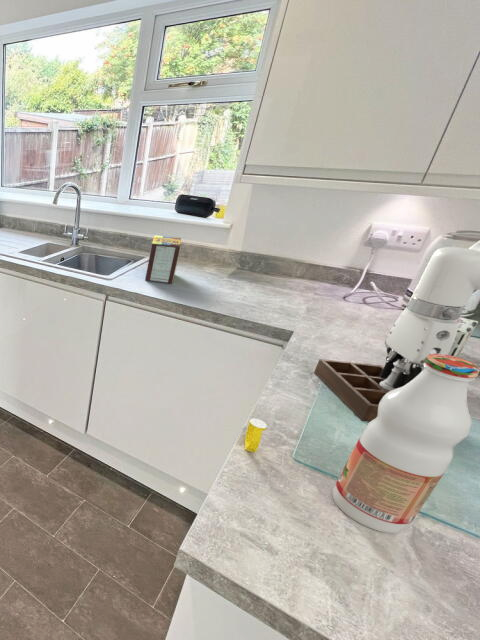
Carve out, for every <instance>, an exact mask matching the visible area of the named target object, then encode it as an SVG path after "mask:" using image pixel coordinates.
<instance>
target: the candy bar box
mask: <svg viewBox="0 0 480 640" xmlns="http://www.w3.org/2000/svg"><path fill="white" fill-rule="evenodd" d="M456 322H458V323H459V325H458V330H457V334H456V337H455V340H454V342H453V345H452V347H451V349H450V351H449V353H448V355H450V356H454V357H458V358H460V356H461V354H462V352H463V350H464V349H465V346H466V345H467V343H468V342H469V339H470V337H471V336H472V334H473V332H474V331H475V329H476V327H477V325H478V324H479V321H478V320H475V319H470V318H467V317H463V316H460V317H459V318H458V320H457V321H456ZM417 366H418V365H415V367H417Z"/></svg>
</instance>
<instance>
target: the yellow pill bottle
mask: <svg viewBox="0 0 480 640" xmlns="http://www.w3.org/2000/svg"><path fill="white" fill-rule="evenodd" d="M267 427H268V425H267V423H266V422H264V421H263V420H262V419H259V418H251V419H249V421H248V426H247V429H246V434H245V437H244V450H245V451H248V452H251V453H256V452H257V450H258V448H259V447H260V443H261V439H262V434H263V431H266V430H267Z"/></svg>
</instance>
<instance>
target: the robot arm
mask: <svg viewBox="0 0 480 640" xmlns="http://www.w3.org/2000/svg"><path fill="white" fill-rule="evenodd" d="M475 290H476V291H477V290H479V291H480V240H478V241H476V242H475V243H474V244H473V245H471V246H469V248H466V247H458V246H444V247H440V248H438V249H437V250H435V251H434V252H433V254H432V255H431V257H430V259H429V261H428V263H427V265H426V267H425V269H424V271H423V273H422V275H421V277H420V279H419V281H418V283H417V285H416V288H415V289H414V291H413V293H412V294H411V295H412V296H411V297H410V299H409V301H408V304H407V305H406V307H405V308H404V310H402V312H401V313H400V315H399V316H398V318H397V319H396V320H395V323H394V324H393V325H392V328H391V329H390V331H389V333H388V335H387V338H386V339H385V340H384V345H385V348H386V356H385V361H386V362H385V364H384V365H383V367H384V368H383V370H382V372H381V374H380V377H381V378H384V379H387V378H388V376H389V375H390V374H391V372H392V369H393V368H394V367H395V366H394V364H393V363H394V362H397V360H398V359H400V361H401V359H402V360H404V362H406V365H405V367H404V370H403V372H400V373H399V374H398V376H397V378H396V380H395V382H394V384H393V386H392V387H393V388H395V389H397V388H400V387H403V386H404V385H406V384H407V383H409V382H410V381H411V380H413V379H414V378H415V377H416V376H417V375H419V374H420V373H421V372H422V371H423V370H424V365H423V364H424V361H425V359H426V358H427V357H428V356H429V355H430V354H445V355H448V353H449V351H450V349H451V347H452V345H453V342H454V340H455V337H456V334H457V330H458V325H459V323H458V322H456V321H457V320H458V318H459V317H461V315H462V313H463V311H464V309H465V307H466V305H467V304H468V302H469V300H470V299H471V296H472V295H473V294H474V292H475ZM414 365H415V366H416V365H418V366H417V367H414Z"/></svg>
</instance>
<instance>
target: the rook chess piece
mask: <svg viewBox="0 0 480 640" xmlns="http://www.w3.org/2000/svg"><path fill="white" fill-rule="evenodd" d="M406 362H407V361H404V360H402V359H401V361H400V359H398V360H397V362H394V363H393V364H394V366H395V367H394V368H393V369H392V372H391V374H390V375H389V376H388V378H387V379H385V380H384V381H382V382H380V383H379V385H380V386H381V387H382V388H384V389H385V390H386V391H392V390H394V389H395V388H393V387H392V386H393V384H394V382H395V380H396V378H397V376H398V374H399V373H400V372H403V370H404V367H405V365H406Z"/></svg>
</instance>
